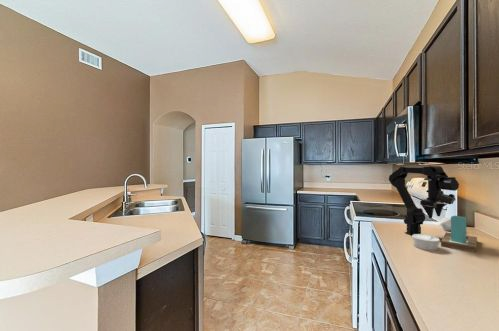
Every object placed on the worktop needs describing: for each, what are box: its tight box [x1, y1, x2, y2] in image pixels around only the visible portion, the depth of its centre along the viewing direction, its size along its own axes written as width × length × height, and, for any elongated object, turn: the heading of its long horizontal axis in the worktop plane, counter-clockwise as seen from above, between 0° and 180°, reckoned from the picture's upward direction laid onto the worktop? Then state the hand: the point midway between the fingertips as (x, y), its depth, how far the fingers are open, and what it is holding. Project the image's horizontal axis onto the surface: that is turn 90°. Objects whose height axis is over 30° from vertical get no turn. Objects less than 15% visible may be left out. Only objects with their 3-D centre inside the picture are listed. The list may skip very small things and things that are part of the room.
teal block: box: [450, 215, 467, 243], centre depth 121 cm, size 4×4×12 cm
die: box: [439, 217, 451, 232], centre depth 150 cm, size 8×9×10 cm
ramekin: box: [411, 233, 441, 252], centre depth 120 cm, size 11×11×5 cm
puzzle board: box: [440, 231, 478, 253], centre depth 125 cm, size 22×13×3 cm, turn 135°
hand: (434, 217), depth 130 cm, fingers open, 9 cm apart
